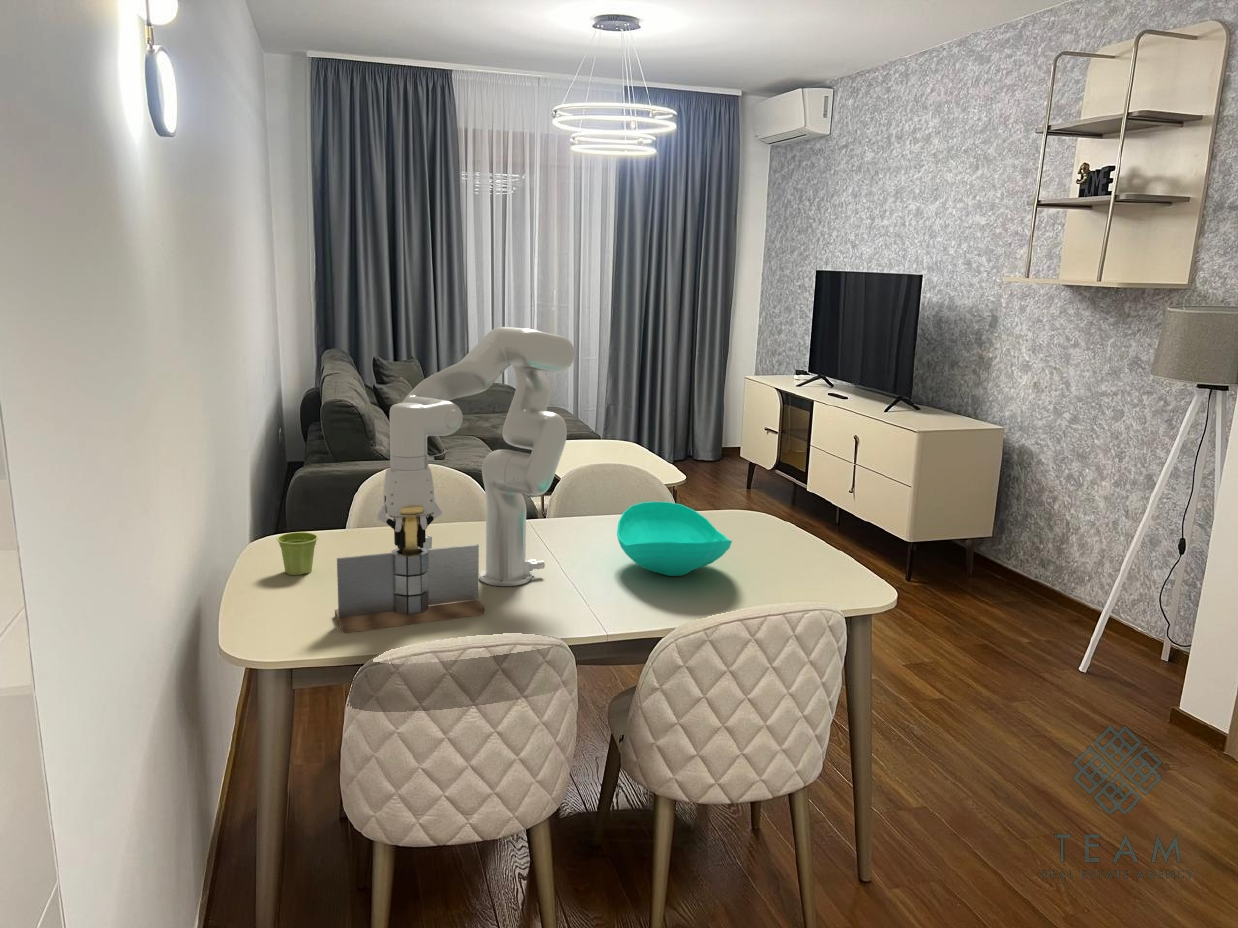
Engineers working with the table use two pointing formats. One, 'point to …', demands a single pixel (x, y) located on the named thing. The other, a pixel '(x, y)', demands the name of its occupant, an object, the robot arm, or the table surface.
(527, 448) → the robot arm
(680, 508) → the table top decor
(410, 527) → the hinge pin
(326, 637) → the table surface
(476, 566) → the swing leaf
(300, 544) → the plant pot
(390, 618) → the base board
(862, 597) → the table surface
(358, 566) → the hinge frame
